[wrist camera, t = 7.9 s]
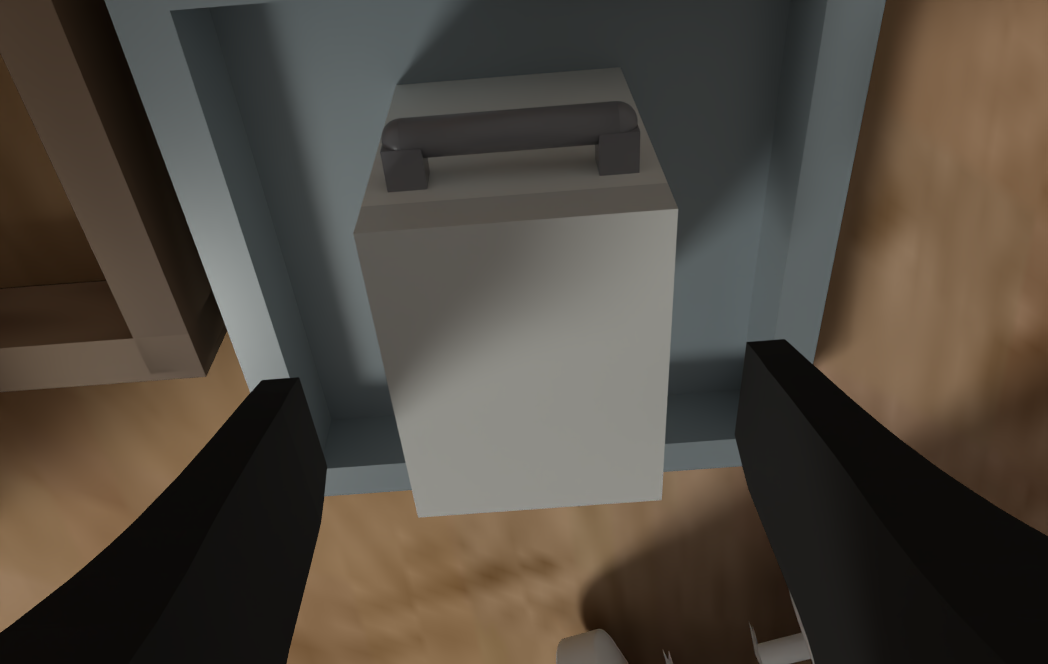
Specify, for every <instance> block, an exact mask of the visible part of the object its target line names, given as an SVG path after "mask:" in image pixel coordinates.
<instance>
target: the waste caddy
mask: <svg viewBox="0 0 1048 664" xmlns="http://www.w3.org/2000/svg"><path fill="white" fill-rule="evenodd" d="M677 221H678V207H677V205H676V202H675V200H674V197H673V195H672V192H671V190H670V187H669V185H668V183H667V180H666V178H665V175H664V173H663V170H662V168H661V165H660V163H659V161H658V158H657V156H656V153H655V151H654V148H653V146H652V144H651V141H650V139H649V136H648V134H647V131H646V129H645V126H644V124H643V122H642V119H641V117H640V114H639V112H638V109H637V107H636V104H635V102H634V100H633V97H632V95H631V92H630V90H629V87H628V85H627V82H626V80H625V78H624V75H623V73H622V70H621V68H620V67H617V68H604V69H591V70H579V71H566V72H554V73H541V74H529V75H516V76H504V77H491V78H478V79H466V80H453V81H441V82H428V83H416V84H403V85H396V87H395V90H394V94H393V97H392V101H391V104H390V108H389V111H388V115H387V118H386V122H385V125H384V129H383V131H382V135H381V139H380V142H379V146H378V149H377V153H376V156H375V160H374V163H373V167H372V170H371V174H370V177H369V181H368V184H367V188H366V191H365V195H364V198H363V202H362V205H361V209H360V212H359V216H358V219H357V222H356V226H355V229H354V233H353V235H354V239H355V244H356V248H357V252H358V257H359V261H360V265H361V270H362V274H363V278H364V283H365V287H366V292H367V296H368V300H369V305H370V309H371V313H372V318H373V322H374V327H375V331H376V335H377V340H378V344H379V348H380V353H381V357H382V361H383V366H384V370H385V375H386V379H387V383H388V388H389V392H390V396H391V401H392V405H393V409H394V414H395V418H396V423H397V427H398V431H399V436H400V440H401V444H402V449H403V453H404V457H405V462H406V466H407V471H408V475H409V479H410V484H411V488H412V492H413V497H414V501H415V506H416V510H417V514H418V517H431V516H445V515H459V514H473V513H487V512H501V511H515V510H529V509H543V508H557V507H571V506H584V505H598V504H612V503H626V502H640V501H654V500H662V484H663V467H664V449H665V432H666V414H667V397H668V379H669V362H670V344H671V326H672V309H673V291H674V274H675V256H676V239H677Z"/></svg>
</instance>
